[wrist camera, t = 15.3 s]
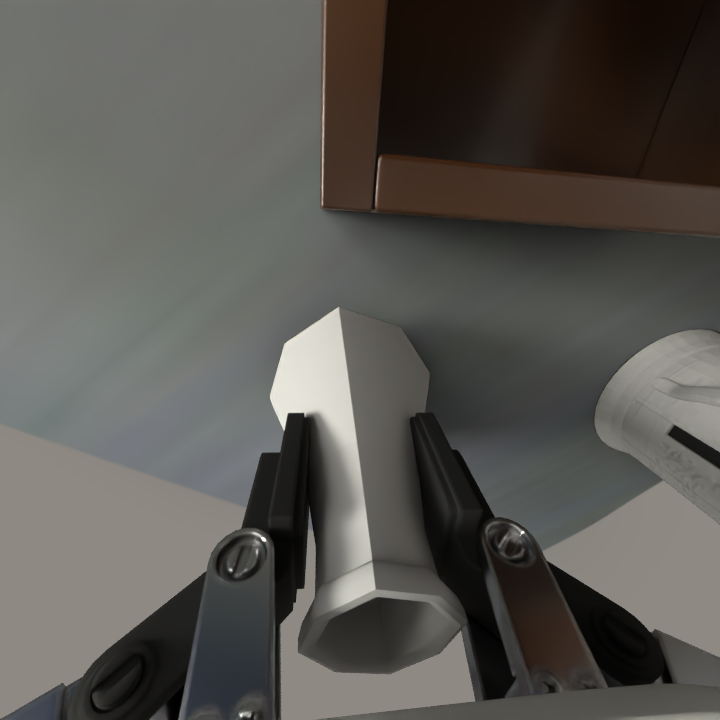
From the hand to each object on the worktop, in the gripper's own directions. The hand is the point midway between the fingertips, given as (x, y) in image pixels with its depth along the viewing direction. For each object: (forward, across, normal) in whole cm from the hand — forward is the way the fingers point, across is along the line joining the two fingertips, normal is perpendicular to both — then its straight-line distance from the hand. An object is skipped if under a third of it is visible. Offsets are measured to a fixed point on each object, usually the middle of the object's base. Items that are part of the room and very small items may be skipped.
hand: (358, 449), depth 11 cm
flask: (+5, 0, 0) cm, 5 cm away
